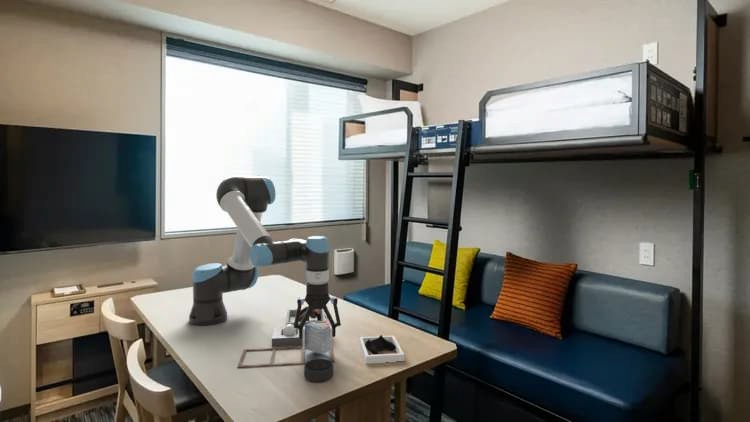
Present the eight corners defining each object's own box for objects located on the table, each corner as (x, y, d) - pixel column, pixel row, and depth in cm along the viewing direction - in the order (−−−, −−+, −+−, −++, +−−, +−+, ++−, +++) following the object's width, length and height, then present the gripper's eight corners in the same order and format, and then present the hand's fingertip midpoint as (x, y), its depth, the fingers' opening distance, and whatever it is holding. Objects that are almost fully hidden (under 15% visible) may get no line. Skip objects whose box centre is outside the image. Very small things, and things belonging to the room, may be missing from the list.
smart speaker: (311, 368, 134) (311, 356, 134) (337, 372, 132) (337, 360, 131) (299, 381, 126) (299, 368, 126) (326, 385, 123) (326, 372, 123)
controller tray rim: (365, 363, 138) (365, 356, 137) (359, 343, 154) (359, 337, 154) (404, 361, 140) (404, 354, 140) (393, 342, 157) (393, 335, 156)
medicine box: (330, 350, 144) (330, 325, 144) (322, 354, 140) (322, 329, 140) (312, 345, 148) (313, 321, 148) (304, 349, 145) (304, 324, 144)
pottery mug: (323, 328, 172) (313, 312, 169) (303, 337, 173) (293, 321, 170) (326, 312, 183) (317, 297, 180) (307, 320, 184) (297, 305, 182)
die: (317, 340, 157) (317, 326, 156) (317, 335, 162) (317, 321, 161) (331, 340, 158) (331, 325, 157) (330, 335, 163) (330, 321, 162)
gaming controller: (391, 355, 151) (380, 339, 154) (397, 347, 149) (386, 331, 152) (371, 363, 143) (359, 346, 146) (377, 355, 141) (365, 338, 144)
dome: (282, 341, 155) (282, 327, 154) (283, 336, 160) (283, 322, 159) (296, 341, 156) (296, 326, 155) (296, 336, 161) (296, 322, 160)
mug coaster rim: (285, 329, 168) (285, 323, 168) (287, 315, 186) (287, 309, 186) (325, 327, 171) (325, 321, 171) (323, 313, 188) (323, 308, 188)
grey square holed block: (271, 346, 151) (271, 338, 151) (274, 334, 163) (274, 326, 162) (305, 345, 153) (305, 337, 153) (305, 333, 165) (305, 325, 164)
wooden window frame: (237, 368, 134) (237, 366, 133) (243, 350, 147) (243, 349, 147) (334, 362, 139) (334, 361, 138) (332, 345, 152) (332, 344, 152)
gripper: (284, 285, 137) (285, 352, 139) (349, 283, 141) (349, 349, 142) (286, 280, 145) (286, 343, 146) (347, 278, 148) (347, 340, 150)
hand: (317, 346), depth 144 cm, fingers closed on medicine box, 9 cm apart
